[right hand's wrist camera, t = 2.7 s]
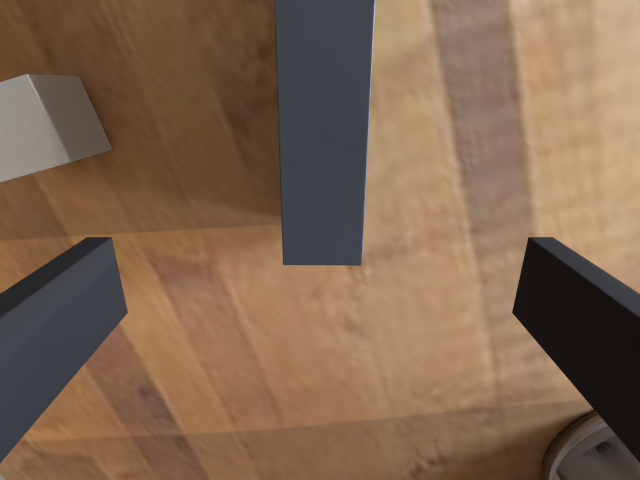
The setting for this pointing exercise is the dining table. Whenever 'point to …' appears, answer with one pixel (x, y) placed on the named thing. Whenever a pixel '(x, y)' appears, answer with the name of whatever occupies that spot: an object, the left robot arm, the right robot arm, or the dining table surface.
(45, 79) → the pale grey block
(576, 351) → the right robot arm
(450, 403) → the dining table surface
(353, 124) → the bar
